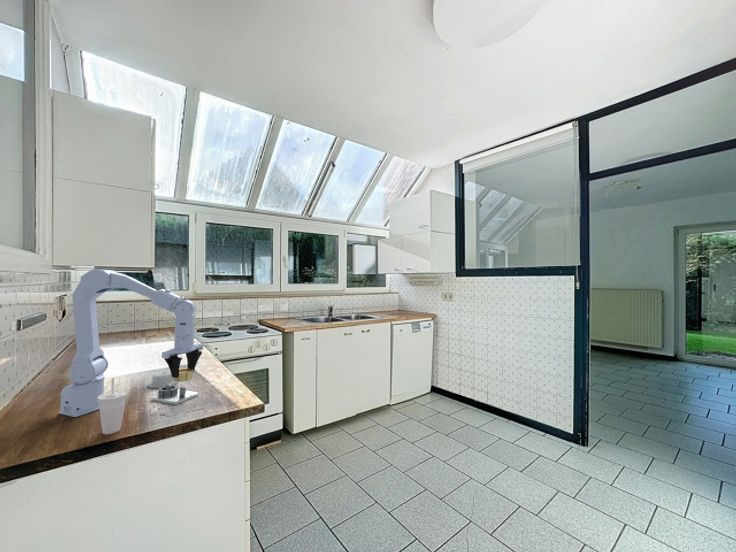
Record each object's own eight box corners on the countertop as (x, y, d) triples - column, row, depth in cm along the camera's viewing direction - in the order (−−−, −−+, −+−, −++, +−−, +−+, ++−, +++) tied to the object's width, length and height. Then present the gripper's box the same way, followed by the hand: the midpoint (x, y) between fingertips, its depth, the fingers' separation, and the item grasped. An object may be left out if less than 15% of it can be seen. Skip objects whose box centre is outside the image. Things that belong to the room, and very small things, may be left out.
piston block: (175, 405, 99) (175, 392, 99) (149, 400, 103) (150, 388, 103) (198, 395, 108) (198, 384, 108) (174, 391, 111) (174, 380, 112)
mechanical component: (165, 389, 114) (184, 381, 124) (166, 377, 114) (184, 370, 124) (141, 388, 115) (161, 379, 125) (141, 376, 115) (162, 369, 125)
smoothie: (123, 423, 86) (125, 373, 87) (129, 430, 82) (131, 378, 83) (93, 431, 81) (95, 379, 82) (98, 439, 77) (100, 384, 78)
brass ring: (182, 382, 101) (182, 373, 101) (169, 380, 103) (170, 371, 103) (196, 377, 106) (196, 369, 106) (184, 375, 108) (184, 367, 108)
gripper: (173, 339, 97) (172, 382, 96) (210, 332, 110) (209, 370, 110) (157, 338, 99) (156, 379, 99) (195, 331, 113) (194, 368, 112)
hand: (183, 374), depth 105 cm, fingers closed on brass ring, 6 cm apart
